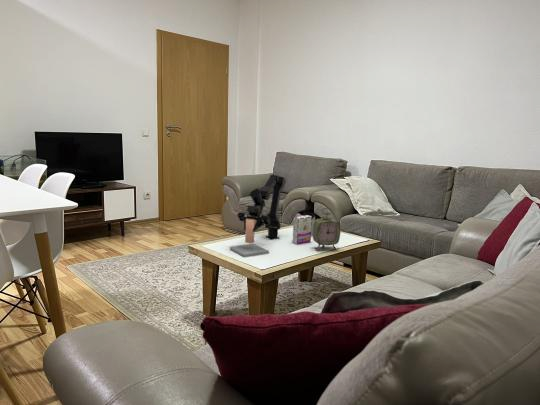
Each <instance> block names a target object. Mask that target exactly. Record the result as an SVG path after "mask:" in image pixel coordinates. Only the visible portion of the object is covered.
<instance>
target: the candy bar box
mask: <svg viewBox="0 0 540 405" xmlns="http://www.w3.org/2000/svg"><path fill="white" fill-rule="evenodd" d="M292 220H293V222H292V223H293V224H292V243H293V244H295V245H302V244H307V243H311V240H312V237H311V224H312V216H308V215H305V216H303V215H301V216H300V215H298V216H293V219H292Z"/></svg>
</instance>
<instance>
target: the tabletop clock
mask: <svg viewBox="0 0 540 405" xmlns="http://www.w3.org/2000/svg"><path fill="white" fill-rule="evenodd" d="M326 209H329V210H331V212H328V211H326V212H323V211H324V210H326ZM333 212H334V209H333V208H332V207H323V208H322V210H321V213H322V214H323V216H322V218H317V219H315V221H314V224H313V236H312V241H313V242H315V243H316V244H318V247H317V248H316V250H317V251H320V247H321V248H322V249H324V248H326V247H325V246H332V247H333V250H334V251H335V250H337V246H335V245H337V244H339V241H340V238H341V224H340V222H339V221H337V220H335V219H333V218H332V217H331V216H330V215H332V214H333Z"/></svg>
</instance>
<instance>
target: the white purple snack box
mask: <svg viewBox="0 0 540 405" xmlns="http://www.w3.org/2000/svg"><path fill="white" fill-rule="evenodd" d="M297 215H298V216H305V215H308V216H312V224H311V238H313V224H314V221H315V220H316V213H315V212H314V211H303V215H301V214H300V213H295V215H294V216H297Z"/></svg>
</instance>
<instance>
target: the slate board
mask: <svg viewBox="0 0 540 405" xmlns="http://www.w3.org/2000/svg"><path fill="white" fill-rule="evenodd" d="M229 250H230V251H232V252H234V253H235V254H237V255H239V256H241V257H243V258H248V257H255V256H261V255H267V254H270V251H269V250H268V249H266V248H264V247H262V246H259V245H257V244H256V243H248V244H247V243H246V244H241V245H234V246H233V245H232V246H229Z"/></svg>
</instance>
